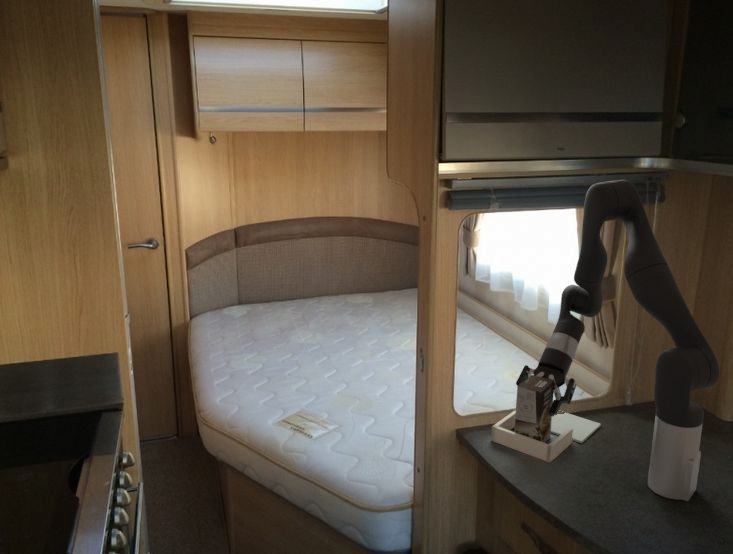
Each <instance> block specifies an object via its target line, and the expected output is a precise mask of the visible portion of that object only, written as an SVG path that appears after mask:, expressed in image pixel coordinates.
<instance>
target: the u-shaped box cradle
mask: <svg viewBox="0 0 733 554" xmlns="http://www.w3.org/2000/svg"><path fill="white" fill-rule="evenodd" d="M515 415H516V409H514V410H513V411H511V412H510V413H509V414H508V415H506V416H505V417H502V419H500V420H499V421H498V422H496V423H495V424H493V425H492V426H491V439H490V440H492V441H491V442H494V443H496V444H498V445H499V444H500V445H501V446H502V445H503V446H505V447H508V448H509V449H513V450H515V451H518V452H520V453H524V454H527V455H528V456H531V457H534V458H536V459H539V460H542V461H545V462H547V463H552V462H553V460H555V459H556V458H557V457H558V456H559V455H560V454H562V453H563V451H565V450H566V449H567V448H568V447H570V445H571V444H572V442H573V440H572V433H573V429H572V428H568V429H567V430H566V431H564V432H563V433H562V434H561V435H560V436H559V435H558V436H557V437H556V438H555V439H554V440H553V441H551V442H550V443H549V444H548V443H546V442H545V443H543V442H540V441H538V440H535V439H532V438H529V437H526V436H524V435H521V434H518V433H515V432H514V431H513V429H515Z"/></svg>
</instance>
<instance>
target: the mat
mask: <svg viewBox="0 0 733 554" xmlns="http://www.w3.org/2000/svg"><path fill="white" fill-rule="evenodd" d="M601 426H602V424H601V423H600V422H597V421H594V420H590V419H587V418H585V417H582V416H581V417H580V416H577V415H576V414H575V415H574V414H571V413H568V412H565V413H564V414H557V415H554V417H553V416H552V420H551V434H553V435H557V436H558V437H559V436H560V435H561V434H562V433H563V432H564V431H566V430H567V429H568V428H572V429H573V433H572V442H577V443H580V444H583V443H584V442H585V441H586V440H588V438H589V437H591V436H592V435H593V434H594V433H595V432H596V431H597V430H598V429H600V428H601Z"/></svg>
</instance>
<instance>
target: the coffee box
mask: <svg viewBox="0 0 733 554" xmlns="http://www.w3.org/2000/svg"><path fill="white" fill-rule="evenodd" d="M553 386H554V380H552V379H548V378H543V377H538V376H534V374H532V375H531V376H529V377H528V378H527V379H526V380H524V381H523V382H522V383H521V384H519V385H518V386H517V385H516V388H517V390H516V400H515V401H516V404H515V410H516V415H515V427H514V431H513V432H515V433H518V434H521V435H524V436H526V437H529V438H532V439H535V440H538V441H540V442H543V443H546V442H547V441H548V440H549V439H550V438H551V434H552V433H551V420H552V416H550V414H549V410H550V408H551V406H552V403H553V401H554V392H553Z"/></svg>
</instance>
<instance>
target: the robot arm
mask: <svg viewBox="0 0 733 554" xmlns="http://www.w3.org/2000/svg"><path fill="white" fill-rule="evenodd" d="M615 220H621V221H622V223H623V225H624V228H625V229H626V234H627V237H628V245H627V250H626V253H625V255H626V256H625V260H624V265H623V266H624V267H623V269H624V270H623V272H624V278H625V280H626V282H627V284H628V286H629V289H630V291H631V293H632V295H633V297H634V300H635V301H636V302H637V304H639V306H640V307H641V308H643V310H644V311H645V312H646V313H648V314H649V315H650V316H652V318H654V319H655V320H656V321H657V322H658V323H659V324H661V326H662V327H663V328H664V329H665V330H666V332H667V333H668V334H669V336H670V337H671V340H672V342H673V343H674V346H675V347H673V348H667V349H665V350H663V351H662V352H661V353H660V354H659V356H658V358H657V360H656V364H655V373H654V387H653V388H654V390H653V392H654V393H653V398H654V404H655V409H656V410H655V419H654V427H653V435H652V442H651V452H650V458H649V459H650V460H649V468H648V474H647V486H648V487H649V490H651V491H652V492H653V493H655V494H657V495H659V496H660V497H663V498H667V499H671V500H677V501H678V500H681V501H685V502H689V500H690V499H691V497H692V496H693V495H694V493H695V492H696V490H697V484H698V478H699V471H700V465H701V463H700V462H701V456H702V451H701V450H700V445H701V437H702V431H703V424H704V417H705V411H704V409H703V408H702V406H701V405H699V404H698V403H696V402H695V401H693V400H691V392H692V391H695V390H701V389H705V388H709V387H710V388H711V387H712V386H714V385H715V384H716V383H717V382H718V380H719V377H720V365H719V362H718V359H717V357H716V355H715V353H714V351H713V349H712V347H711V346H710V343H708V341H707V338H705V336H704V334H703V332H702V331H701V329H700V327H699V326H698V323H697V322H696V321H695V319H694V317H693V315H692V313H691V311H690V309H689V306H688V305H687V304H686V302H685V300H684V297H683V295H682V294H681V290H680V288H679V287H678V284H677V282H676V279H675V277H674V275H673V273H672V271H671V269H670V267H669V264H668V263H667V260H666V259H665V257H664V255H663V253H662V250H661V248H660V246H659V243H658V242H657V239H656V236H655V234H654V232H653V230H652V227H651V224H650V222H649V219H648V216H647V213H646V209H645V207H644V204H643V201H642V197H641V195H640V193H639V191H638V188H637V187H636V185H634V183H633V182H632V181H631V180H628V179H619V180H618V179H616V180H610V181H602V182H597V183H593V184H592V185H591V186H590V187H589V188H588V189H587V191H586V194H585V198H584V205H583V216H582V225H581V226H582V227H581V229H582V231H581V241H580V242H581V243H580V244H581V245H580V249H579V250H580V252H579V256H578V259H577V264H576V267H575V271H574V275H573V279H574V280H573V281H574V283H575V284H569V285H568V286H566V287H564V289H563V291H562V293H561V299H560V309H559V316H558V319H557V322H556V324H555V326H554V328H553V329H554V330H553V332H552V334H551V336H550V337H549V339H548V341H547V342H546V345H545V347H544V350H543V352H542V354H541V357H540V359H539V361H538V364H537V367H535V368H532V367H530V366H529V365H524V366H523V368H522V370H521V372H520V374H519V376H518V377H517V380H516V381H515V385H516V387H517V386H518V385H519V384H521V383H522V382H523V381H524V380H526V379H527V378H528V377H529V376H531V375H534V376H538V377H543V378H548V379H552V380H554V386H553V392H554V393H553V396H554V397H555V399H553V403H552V406H551V408H550V410H549V414H550V416H553V417H554V415H556V414H557V413H558V411H560V408H561V406H562V404H567V405H568V404H571V403H572V399H573V397H574V394H575V390H576V388H577V382H576V381H575V379H574V378H567V375H568V373H569V370H570V368H571V366H572V363H573V361H574V360H575V357H576V353H577V351H578V350H577V349H578V348H579V347H578V346H579V343H580V341H581V339H582V336H583V334H584V331H585V327H586V326H585V324H584V322H583V321H582V320H581V319H579V318H578V317H577V316H574V315H573V314H572V313H575V314H577V315H581V316H584V317H587V318H594V317H596V316H598V315H599V313H601V310H602V308H603V290H602V284H603V280H604V276H605V273H606V270H607V265H608V253H607V250H606V247H605V245H604V243H603V240H602V238H601V231H602V227H603V225H604V223H605V222H610V221H615ZM571 312H572V313H571ZM563 385H565V386H566V389H565V391H564V393H563V394H564V395H562V392H561V390H560V387H562V386H563Z"/></svg>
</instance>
